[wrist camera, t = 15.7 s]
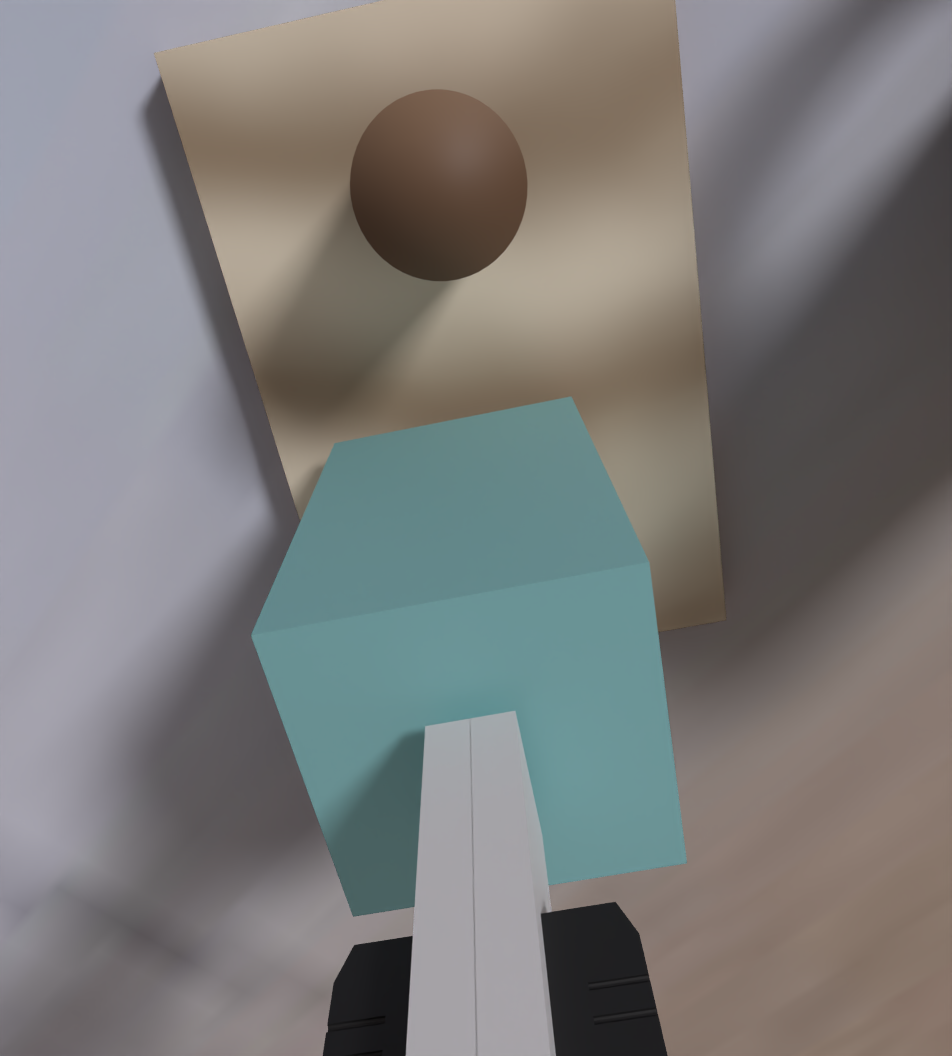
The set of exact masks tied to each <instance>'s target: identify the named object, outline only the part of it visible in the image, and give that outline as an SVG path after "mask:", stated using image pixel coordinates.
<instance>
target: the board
mask: <svg viewBox="0 0 952 1056" xmlns="http://www.w3.org/2000/svg"><path fill="white" fill-rule="evenodd" d="M154 55H155V58H156V61H157V65H158V68H159V71H160V74H161V77H162V81H163V84H164V87H165V90H166V93H167V97H168V100H169V103H170V106H171V109H172V113H173V116H174V119H175V122H176V125H177V129H178V132H179V135H180V138H181V141H182V145H183V148H184V151H185V154H186V157H187V161H188V164H189V167H190V170H191V173H192V177H193V180H194V183H195V186H196V189H197V193H198V196H199V199H200V202H201V206H202V209H203V212H204V215H205V218H206V222H207V225H208V228H209V231H210V234H211V238H212V241H213V244H214V247H215V250H216V254H217V257H218V260H219V263H220V266H221V270H222V273H223V276H224V279H225V282H226V286H227V289H228V292H229V295H230V298H231V302H232V305H233V308H234V311H235V314H236V318H237V321H238V324H239V327H240V330H241V334H242V337H243V340H244V343H245V346H246V350H247V353H248V356H249V359H250V362H251V366H252V369H253V372H254V375H255V378H256V382H257V385H258V388H259V391H260V394H261V398H262V401H263V404H264V407H265V411H266V414H267V417H268V420H269V423H270V427H271V430H272V433H273V436H274V439H275V443H276V446H277V449H278V452H279V455H280V459H281V462H282V465H283V468H284V471H285V475H286V478H287V481H288V484H289V487H290V491H291V494H292V497H293V500H294V503H295V507H296V510H297V513H298V516H299V519H300V521H301V519H302V517H303V514H304V512H305V510H306V508H307V505H308V503H309V501H310V498H311V496H312V494H313V491H314V489H315V487H316V485H317V482H318V480H319V478H320V475H321V473H322V471H323V469H324V466H325V464H326V462H327V459H328V457H329V455H330V452H331V450H332V448H333V446H334V443H338V442H343V441H348V440H353V439H358V438H363V437H368V436H373V435H378V434H383V433H389V432H394V431H399V430H404V429H409V428H414V427H419V426H424V425H429V424H434V423H439V422H444V421H449V420H454V419H459V418H464V417H469V416H475V415H480V414H485V413H490V412H495V411H500V410H505V409H510V408H515V407H520V406H525V405H530V404H535V403H540V402H545V401H550V400H556V399H561V398H566V397H572V399H573V401H574V403H575V405H576V407H577V409H578V412H579V414H580V416H581V418H582V420H583V422H584V424H585V426H586V429H587V431H588V433H589V435H590V437H591V439H592V441H593V443H594V446H595V448H596V450H597V452H598V454H599V456H600V458H601V460H602V463H603V465H604V467H605V469H606V471H607V473H608V475H609V478H610V480H611V482H612V484H613V486H614V488H615V490H616V492H617V495H618V497H619V499H620V501H621V503H622V505H623V507H624V509H625V512H626V514H627V516H628V518H629V520H630V522H631V524H632V526H633V529H634V531H635V533H636V535H637V537H638V539H639V541H640V543H641V546H642V548H643V550H644V552H645V554H646V556H647V558H648V561H649V564H650V572H651V580H652V588H653V596H654V604H655V612H656V620H657V628H658V632H663V631H668V630H674V629H680V628H685V627H691V626H697V625H702V624H708V623H714V622H719V621H725V620H726V610H725V598H724V586H723V574H722V562H721V550H720V538H719V526H718V514H717V501H716V489H715V477H714V465H713V453H712V441H711V429H710V417H709V405H708V393H707V380H706V368H705V356H704V344H703V332H702V320H701V308H700V296H699V284H698V272H697V259H696V247H695V235H694V223H693V211H692V199H691V187H690V175H689V163H688V151H687V138H686V126H685V114H684V102H683V90H682V78H681V66H680V54H679V42H678V30H677V17H676V5H675V0H383V1H378V2H374V3H370V4H365V5H361V6H357V7H352V8H348V9H344V10H339V11H335V12H331V13H326V14H322V15H318V16H313V17H309V18H304V19H300V20H296V21H291V22H287V23H283V24H278V25H274V26H270V27H265V28H261V29H257V30H252V31H248V32H244V33H239V34H235V35H231V36H226V37H222V38H217V39H213V40H209V41H204V42H200V43H196V44H191V45H187V46H183V47H178V48H174V49H170V50H165V51H161V52H157V53H154Z"/></svg>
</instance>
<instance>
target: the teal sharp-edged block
mask: <svg viewBox="0 0 952 1056" xmlns="http://www.w3.org/2000/svg"><path fill="white" fill-rule="evenodd" d="M251 637H252V640H253V643H254V645H255V648H256V651H257V654H258V656H259V659H260V662H261V665H262V667H263V670H264V673H265V676H266V678H267V681H268V684H269V687H270V689H271V692H272V695H273V698H274V700H275V703H276V706H277V709H278V711H279V714H280V717H281V720H282V722H283V725H284V728H285V731H286V733H287V736H288V739H289V742H290V744H291V747H292V750H293V753H294V755H295V758H296V761H297V764H298V766H299V769H300V772H301V775H302V777H303V780H304V783H305V786H306V788H307V791H308V794H309V797H310V799H311V802H312V805H313V808H314V810H315V813H316V816H317V819H318V821H319V824H320V827H321V830H322V832H323V835H324V838H325V841H326V843H327V846H328V849H329V852H330V854H331V857H332V860H333V863H334V865H335V868H336V871H337V874H338V876H339V879H340V882H341V885H342V887H343V890H344V893H345V896H346V898H347V901H348V904H349V907H350V909H351V912H352V915H353V917H354V916H360V915H366V914H373V913H379V912H385V911H391V910H398V909H404V908H410V907H415V891H416V875H417V858H418V841H419V824H420V807H421V790H422V773H423V756H424V740H425V726H429V725H435V724H441V723H447V722H453V721H458V720H464V719H470V718H476V717H481V716H487V715H493V714H499V713H505V712H510V711H515V712H516V716H517V721H518V725H519V730H520V735H521V739H522V744H523V748H524V753H525V758H526V762H527V767H528V772H529V776H530V781H531V785H532V790H533V795H534V799H535V804H536V809H537V813H538V818H539V822H540V827H541V832H542V837H543V845H544V853H545V861H546V870H547V878H548V885H554V884H560V883H566V882H573V881H579V880H585V879H591V878H598V877H604V876H610V875H616V874H623V873H629V872H635V871H641V870H648V869H654V868H660V867H666V866H673V865H679V864H685V863H687V860H686V852H685V844H684V836H683V828H682V820H681V812H680V804H679V796H678V788H677V780H676V772H675V764H674V756H673V748H672V740H671V732H670V724H669V716H668V708H667V700H666V692H665V684H664V676H663V668H662V660H661V652H660V644H659V636H658V628H657V620H656V612H655V604H654V596H653V588H652V580H651V572H650V564H649V561H648V558H647V556H646V554H645V552H644V550H643V548H642V546H641V543H640V541H639V539H638V537H637V535H636V533H635V531H634V529H633V526H632V524H631V522H630V520H629V518H628V516H627V514H626V512H625V509H624V507H623V505H622V503H621V501H620V499H619V497H618V495H617V492H616V490H615V488H614V486H613V484H612V482H611V480H610V478H609V475H608V473H607V471H606V469H605V467H604V465H603V463H602V460H601V458H600V456H599V454H598V452H597V450H596V448H595V446H594V443H593V441H592V439H591V437H590V435H589V433H588V431H587V429H586V426H585V424H584V422H583V420H582V418H581V416H580V414H579V412H578V409H577V407H576V405H575V403H574V401H573V399H572V397H566V398H561V399H556V400H550V401H545V402H540V403H535V404H530V405H525V406H520V407H515V408H510V409H505V410H500V411H495V412H490V413H485V414H480V415H475V416H469V417H464V418H459V419H454V420H449V421H444V422H439V423H434V424H429V425H424V426H419V427H414V428H409V429H404V430H399V431H394V432H389V433H383V434H378V435H373V436H368V437H363V438H358V439H353V440H348V441H343V442H338V443H334V446H333V448H332V450H331V452H330V455H329V457H328V459H327V462H326V464H325V466H324V469H323V471H322V473H321V475H320V478H319V480H318V482H317V485H316V487H315V489H314V491H313V494H312V496H311V498H310V501H309V503H308V505H307V508H306V510H305V512H304V514H303V517H302V519H301V521H300V524H299V526H298V528H297V531H296V533H295V535H294V537H293V540H292V542H291V544H290V547H289V549H288V551H287V554H286V556H285V558H284V560H283V563H282V565H281V567H280V570H279V572H278V574H277V576H276V579H275V581H274V583H273V586H272V588H271V590H270V593H269V595H268V597H267V599H266V602H265V604H264V606H263V609H262V611H261V613H260V616H259V618H258V620H257V622H256V625H255V627H254V629H253V632H252V634H251Z"/></svg>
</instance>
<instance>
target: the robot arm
mask: <svg viewBox="0 0 952 1056" xmlns="http://www.w3.org/2000/svg"><path fill="white" fill-rule="evenodd" d="M323 1056H667V1052H666V1047H665V1043H664V1039H663V1034H662V1030H661V1026H660V1021H659V1017H658V1014H657V1009H656V1004H655V1000H654V996H653V991H652V987H651V983H650V979H649V974H648V970H647V965H646V961H645V957H644V952H643V948H642V944H641V939H640V935H639V933H638V931H637V930H636V929H635V927H634V926H633V925H632V923H631V922H630V921H629V919H628V918H627V917H626V915H625V914H624V913H623V911H622V910H621V909H620V907H619V906H618V905H617V903H616V902H612V903H605V904H599V905H593V906H586V907H580V908H573V909H567V910H561V911H554V912H552V910H551V902H550V894H549V886H548V878H547V870H546V861H545V853H544V845H543V837H542V832H541V827H540V822H539V818H538V813H537V809H536V804H535V799H534V795H533V790H532V785H531V781H530V776H529V772H528V767H527V762H526V758H525V753H524V748H523V744H522V739H521V735H520V730H519V725H518V721H517V716H516V712H515V711H510V712H505V713H499V714H493V715H487V716H481V717H476V718H470V719H464V720H458V721H453V722H447V723H441V724H435V725H429V726H425V740H424V756H423V773H422V790H421V807H420V824H419V841H418V858H417V875H416V891H415V908H414V925H413V936H409V937H403V938H397V939H390V940H384V941H378V942H371V943H365V944H358V945H354V947H353V948H352V950H351V952H350V954H349V956H348V958H347V959H346V961H345V963H344V965H343V967H342V969H341V971H340V972H339V974H338V976H337V978H336V980H335V982H334V985H333V991H332V998H331V1005H330V1011H329V1018H328V1032H327V1033H326V1038H325V1044H324V1051H323Z"/></svg>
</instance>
